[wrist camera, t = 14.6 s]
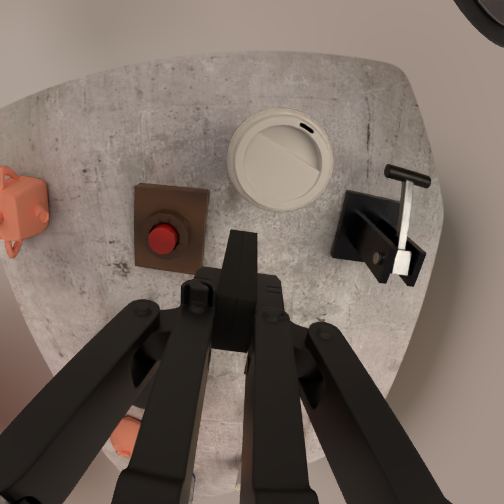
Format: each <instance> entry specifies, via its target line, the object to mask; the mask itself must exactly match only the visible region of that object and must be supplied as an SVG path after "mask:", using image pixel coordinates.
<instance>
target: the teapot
mask: <svg viewBox="0 0 504 504" xmlns="http://www.w3.org/2000/svg"><path fill="white" fill-rule="evenodd" d="M5 175H7V176H9V177H11V178H8V179H5V180H4V176H5ZM48 224H49V213H48V197H47V187H46V183H45V181H43V180H41V179H38V178H34V177H28V176H17V174H16V173H15V172H14V171H13V170H12V169H11V168H9V167H8V166H1V167H0V239H2V240H5V246H6V251H7V254H8V256H9V257H10V258H15V257H16V256H17V254H18V252H19V250H20V247H21V245H22V242H23V240H24V239H27V238H30V237H33V236H35V235H37V234H39V233H41V232H43V231H44V230H45V229H46V227H47V226H48ZM11 241H16V242H15V244H14V246H13V248H12V245H11Z"/></svg>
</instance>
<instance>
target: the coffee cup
mask: <svg viewBox="0 0 504 504" xmlns="http://www.w3.org/2000/svg"><path fill="white" fill-rule="evenodd" d="M333 164H334V157H333V150H332V146H331V143H330V140H329V138H328V136H327V134H326V133H325V131H324V130H323V128H322V127H321V126H320V125H319V124H318V123H317V122H316V121H315V120H314V119H313V118H311V117H310V116H308V115H306V114H304V113H302V112H300V111H297V110H294V109H289V108H271V109H266V110H263V111H260V112H258V113H255V114H254V115H252V116H250V117H249V118H247V119H246V120H245V121H244V122H243V123H242V124H241V125H240V126H239V127H238V128H237V130H236V131H235V133H234V134H233V136H232V138H231V140H230V143H229V146H228V151H227V168H228V173H229V176H230V179H231V181H232V183H233V185H234V187H235V188H236V190H237V191H238V192H239V193H240V195H241V196H242V197H243V198H245V199H246V200H247V201H248V202H250V203H251V204H253V205H255V206H257V207H259V208H261V209H264V210H268V211H273V212H289V211H294V210H297V209H300V208H303V207H305V206H307V205H309V204H310V203H312V202H313V201H314V200H316V199H317V198H318V197H319V196H320V195H321V194H322V192H323V191H324V190H325V188H326V187H327V185H328V183H329V181H330V178H331V175H332V171H333Z"/></svg>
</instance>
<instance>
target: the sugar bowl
mask: <svg viewBox="0 0 504 504" xmlns="http://www.w3.org/2000/svg"><path fill="white" fill-rule="evenodd" d="M140 425H141V422H140V421H138V420H135V419H133V418H132V417H123V419H122V420H121V421H120V423H119V424H118V426H117V427H116V428H115V430H114V431H113V433H112V434H111V436H110V439H111V443H112V445H113V447H114V449H115V450H116V453H117V454H118V455H122V456H123V457H126V458H130V457H131V455H132V452H133V448H134V445H135V441H136V438H137V435H138V431H139V428H140Z"/></svg>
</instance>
